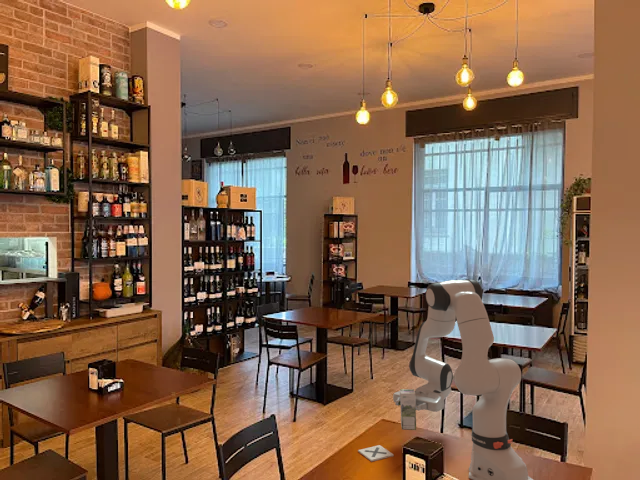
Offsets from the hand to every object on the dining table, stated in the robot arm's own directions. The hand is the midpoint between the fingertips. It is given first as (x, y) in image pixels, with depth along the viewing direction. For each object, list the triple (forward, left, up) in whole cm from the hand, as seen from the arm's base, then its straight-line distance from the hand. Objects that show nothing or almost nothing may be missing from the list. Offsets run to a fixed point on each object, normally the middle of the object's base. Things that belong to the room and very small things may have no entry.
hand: (406, 405), depth 192 cm
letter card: (+2, +13, -17) cm, 22 cm away
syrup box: (0, -1, -9) cm, 9 cm away
